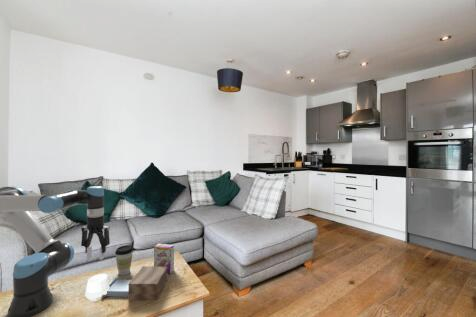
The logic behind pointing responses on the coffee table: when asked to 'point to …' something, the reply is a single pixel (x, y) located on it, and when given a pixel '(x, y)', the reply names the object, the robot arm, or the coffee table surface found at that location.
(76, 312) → the coffee table surface
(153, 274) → the wooden box
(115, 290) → the tray
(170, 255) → the candy bar box
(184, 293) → the coffee table surface
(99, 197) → the robot arm
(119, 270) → the coffee cup
